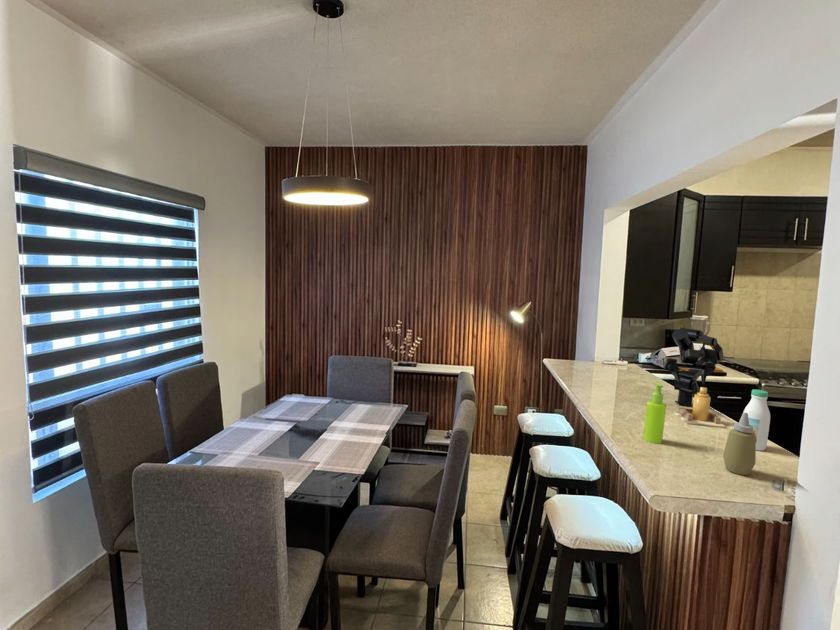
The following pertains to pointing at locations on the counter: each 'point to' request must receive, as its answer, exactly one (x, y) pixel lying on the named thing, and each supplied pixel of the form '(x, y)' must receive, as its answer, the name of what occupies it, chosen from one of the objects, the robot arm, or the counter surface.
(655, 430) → the soap dispenser
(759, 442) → the milk bottle
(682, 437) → the counter surface
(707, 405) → the amber bottle
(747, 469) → the squeeze bottle
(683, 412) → the u rest
